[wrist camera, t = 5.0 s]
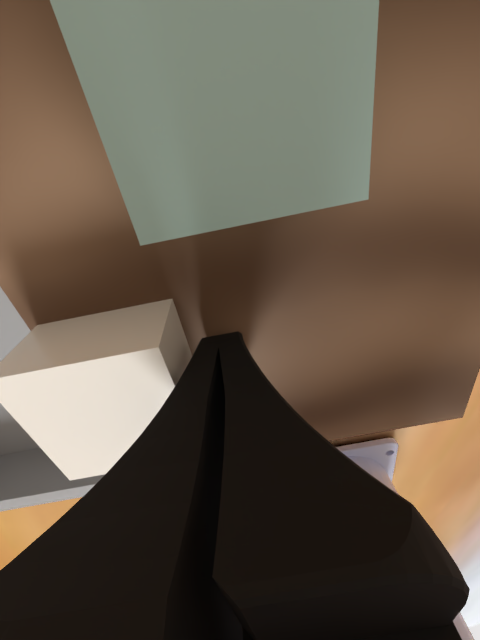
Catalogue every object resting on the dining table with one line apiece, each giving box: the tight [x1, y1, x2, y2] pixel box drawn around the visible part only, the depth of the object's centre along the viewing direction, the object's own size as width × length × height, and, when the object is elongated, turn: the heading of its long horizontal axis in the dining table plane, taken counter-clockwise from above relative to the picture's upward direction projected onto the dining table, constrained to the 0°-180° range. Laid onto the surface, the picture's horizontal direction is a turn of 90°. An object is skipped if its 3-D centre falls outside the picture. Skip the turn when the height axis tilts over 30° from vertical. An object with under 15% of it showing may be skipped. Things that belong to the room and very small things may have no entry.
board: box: [0, 0, 480, 441], centre depth 10 cm, size 17×16×2 cm
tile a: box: [0, 299, 192, 480], centre depth 9 cm, size 4×4×3 cm
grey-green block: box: [50, 0, 379, 246], centre depth 5 cm, size 4×4×3 cm
